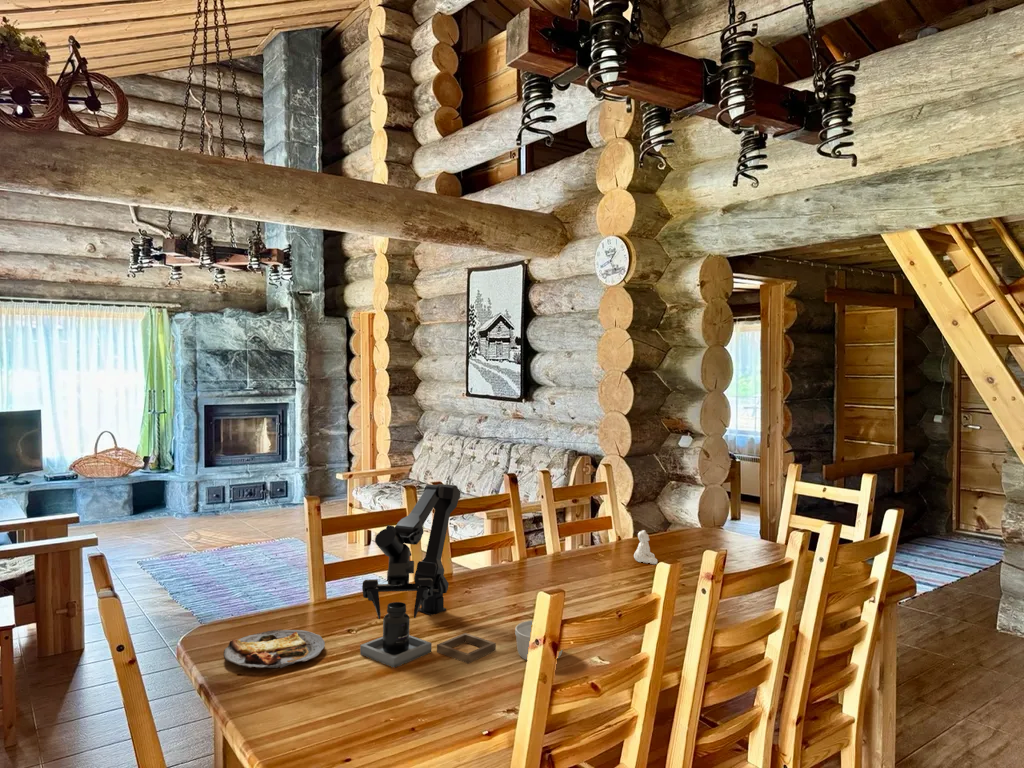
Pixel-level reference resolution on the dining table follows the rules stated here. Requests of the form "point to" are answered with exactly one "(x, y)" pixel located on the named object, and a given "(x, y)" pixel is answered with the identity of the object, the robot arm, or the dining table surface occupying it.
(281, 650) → the food plate
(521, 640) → the ramekin
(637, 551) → the white creature statuette
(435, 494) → the robot arm
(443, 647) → the walnut collar
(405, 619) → the supplement bottle
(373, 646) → the grey tray
